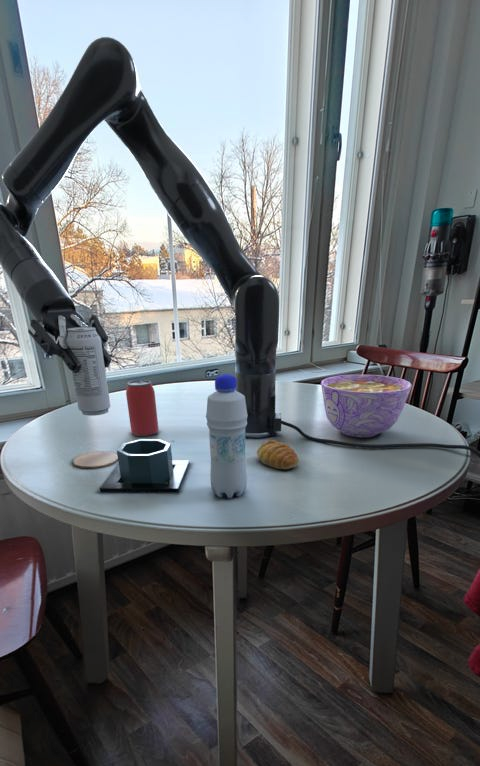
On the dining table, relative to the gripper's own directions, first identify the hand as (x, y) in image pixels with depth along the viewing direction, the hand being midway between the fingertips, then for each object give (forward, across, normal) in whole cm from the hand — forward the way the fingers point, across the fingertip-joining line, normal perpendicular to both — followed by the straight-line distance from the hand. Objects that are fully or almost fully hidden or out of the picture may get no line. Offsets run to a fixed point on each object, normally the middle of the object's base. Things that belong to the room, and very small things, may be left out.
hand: (93, 366), depth 84 cm
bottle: (+34, +4, -7) cm, 35 cm away
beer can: (+6, +19, +21) cm, 29 cm away
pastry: (+33, +21, -6) cm, 39 cm away
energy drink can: (+5, 0, +7) cm, 9 cm away
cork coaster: (+10, 0, +17) cm, 20 cm away
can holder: (+22, 0, +5) cm, 22 cm away
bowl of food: (+36, +49, -9) cm, 62 cm away
